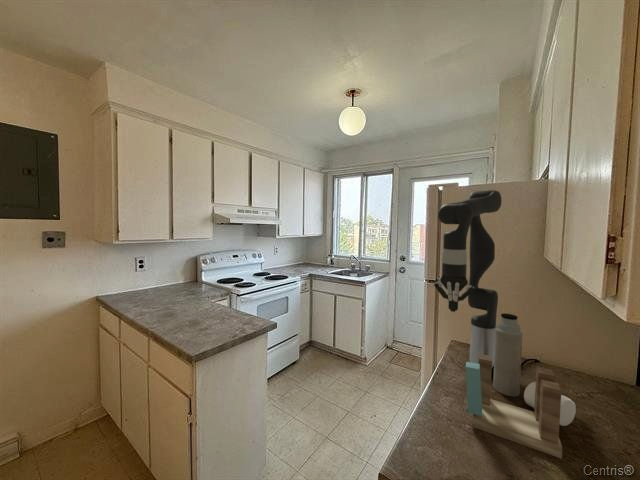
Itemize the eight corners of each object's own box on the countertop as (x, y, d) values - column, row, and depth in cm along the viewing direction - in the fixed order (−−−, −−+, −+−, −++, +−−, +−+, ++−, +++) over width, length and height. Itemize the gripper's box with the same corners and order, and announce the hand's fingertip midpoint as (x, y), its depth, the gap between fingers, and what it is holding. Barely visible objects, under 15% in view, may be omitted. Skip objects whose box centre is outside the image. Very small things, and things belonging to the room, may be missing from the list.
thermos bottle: (519, 388, 98) (523, 314, 97) (519, 399, 92) (523, 320, 91) (493, 380, 103) (497, 310, 102) (492, 390, 97) (495, 315, 95)
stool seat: (474, 402, 90) (476, 352, 89) (551, 427, 79) (554, 369, 78) (472, 426, 79) (475, 369, 78) (561, 458, 68) (565, 392, 68)
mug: (556, 428, 79) (558, 402, 78) (522, 406, 88) (524, 383, 88) (584, 421, 82) (586, 396, 82) (549, 400, 92) (550, 378, 91)
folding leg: (467, 406, 84) (464, 361, 83) (482, 409, 81) (479, 363, 81) (466, 412, 80) (463, 366, 80) (482, 416, 78) (479, 369, 78)
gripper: (477, 261, 91) (475, 311, 92) (435, 259, 98) (434, 305, 99) (476, 265, 84) (474, 318, 86) (431, 262, 91) (430, 310, 93)
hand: (453, 311), depth 92 cm, fingers closed
